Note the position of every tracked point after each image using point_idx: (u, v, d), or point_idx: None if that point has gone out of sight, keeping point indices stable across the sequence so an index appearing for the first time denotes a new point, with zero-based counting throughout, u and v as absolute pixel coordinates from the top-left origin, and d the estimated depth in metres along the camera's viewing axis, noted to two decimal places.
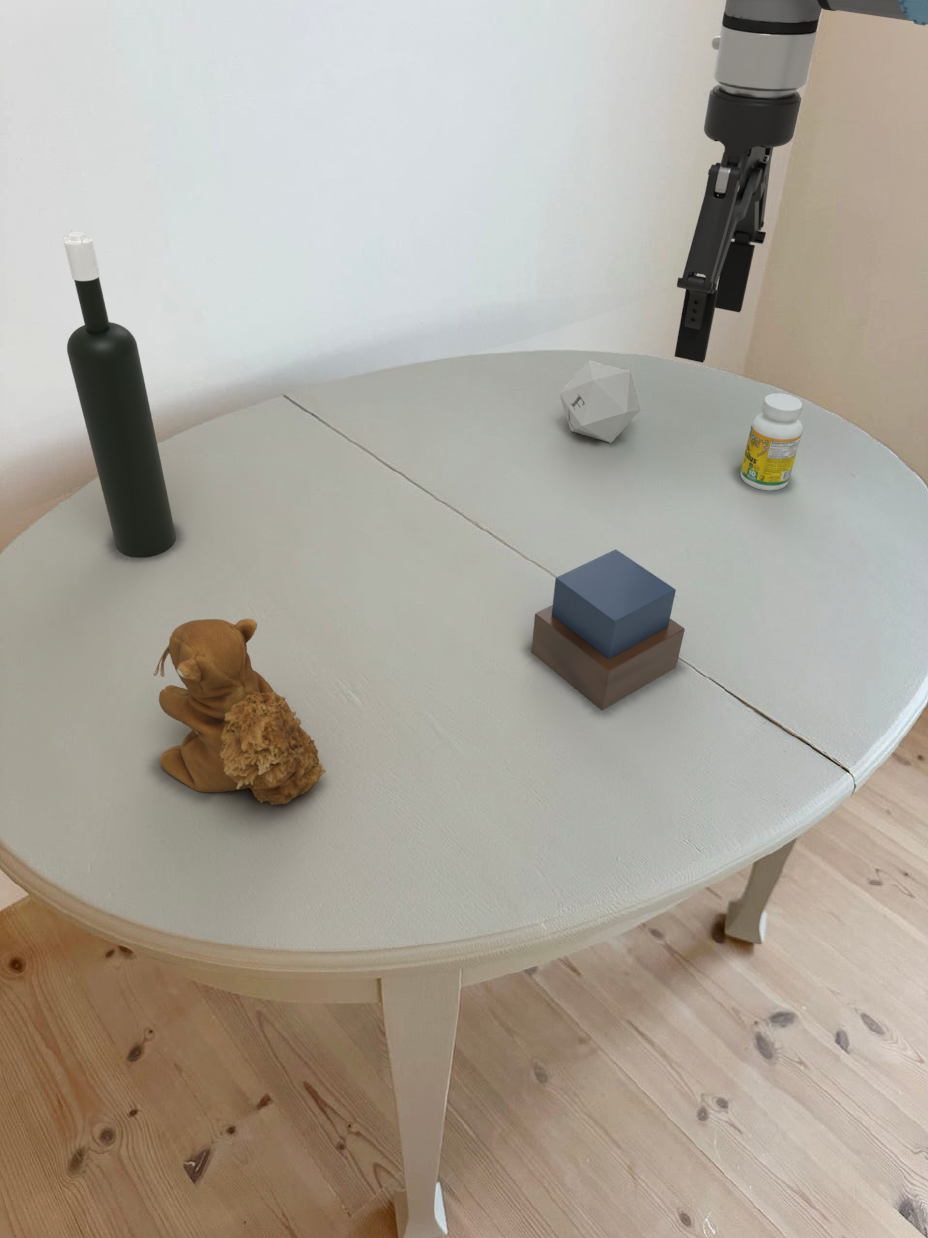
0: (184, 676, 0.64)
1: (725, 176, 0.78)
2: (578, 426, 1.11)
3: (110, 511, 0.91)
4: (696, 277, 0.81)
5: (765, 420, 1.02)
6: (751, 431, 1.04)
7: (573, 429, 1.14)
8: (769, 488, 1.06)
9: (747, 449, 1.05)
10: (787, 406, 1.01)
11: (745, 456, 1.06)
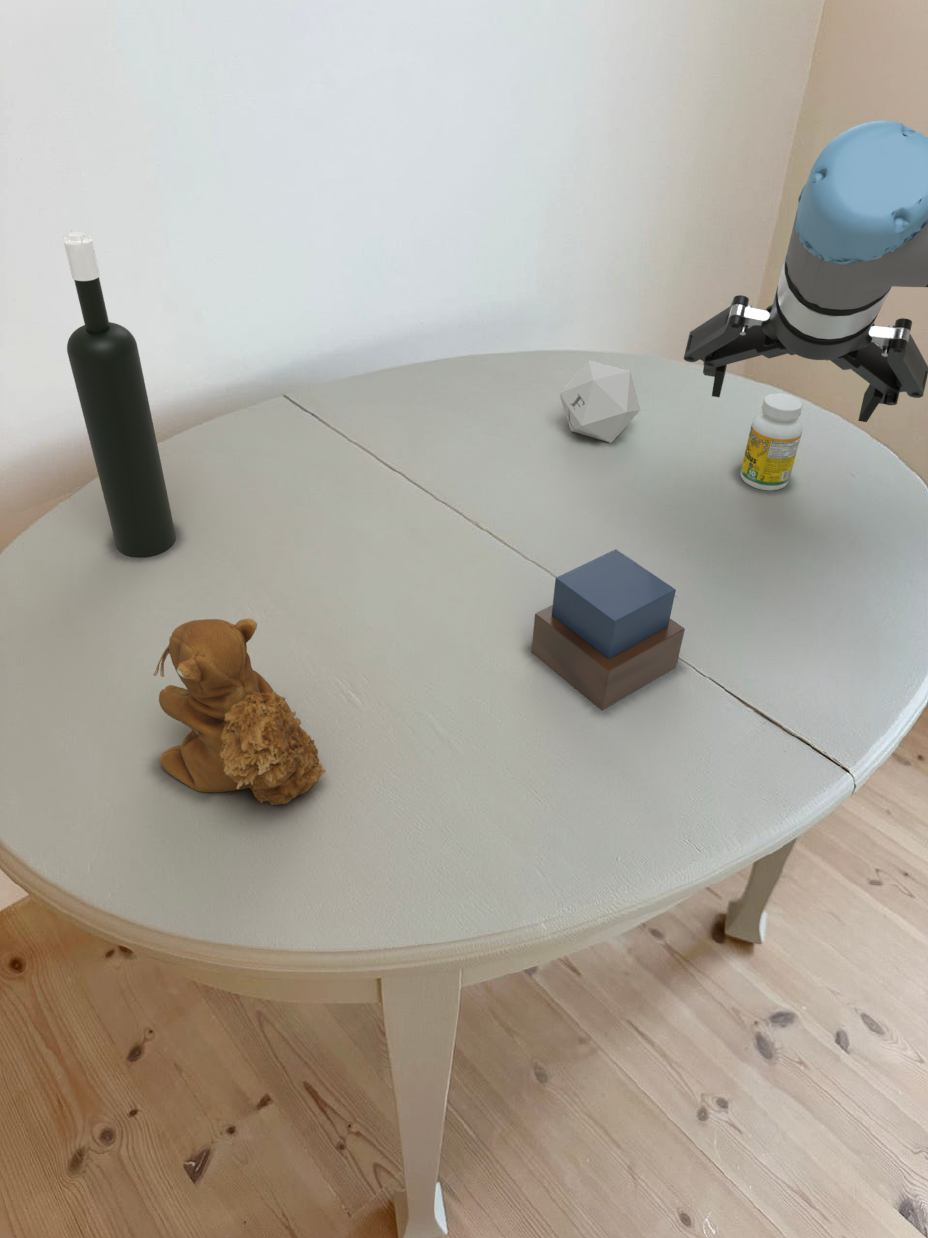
0: (184, 676, 0.64)
1: (729, 314, 0.77)
2: (578, 426, 1.11)
3: (110, 511, 0.91)
4: None
5: (765, 420, 1.02)
6: (751, 431, 1.04)
7: (573, 429, 1.14)
8: (769, 488, 1.06)
9: (747, 449, 1.05)
10: (787, 406, 1.01)
11: (745, 456, 1.06)
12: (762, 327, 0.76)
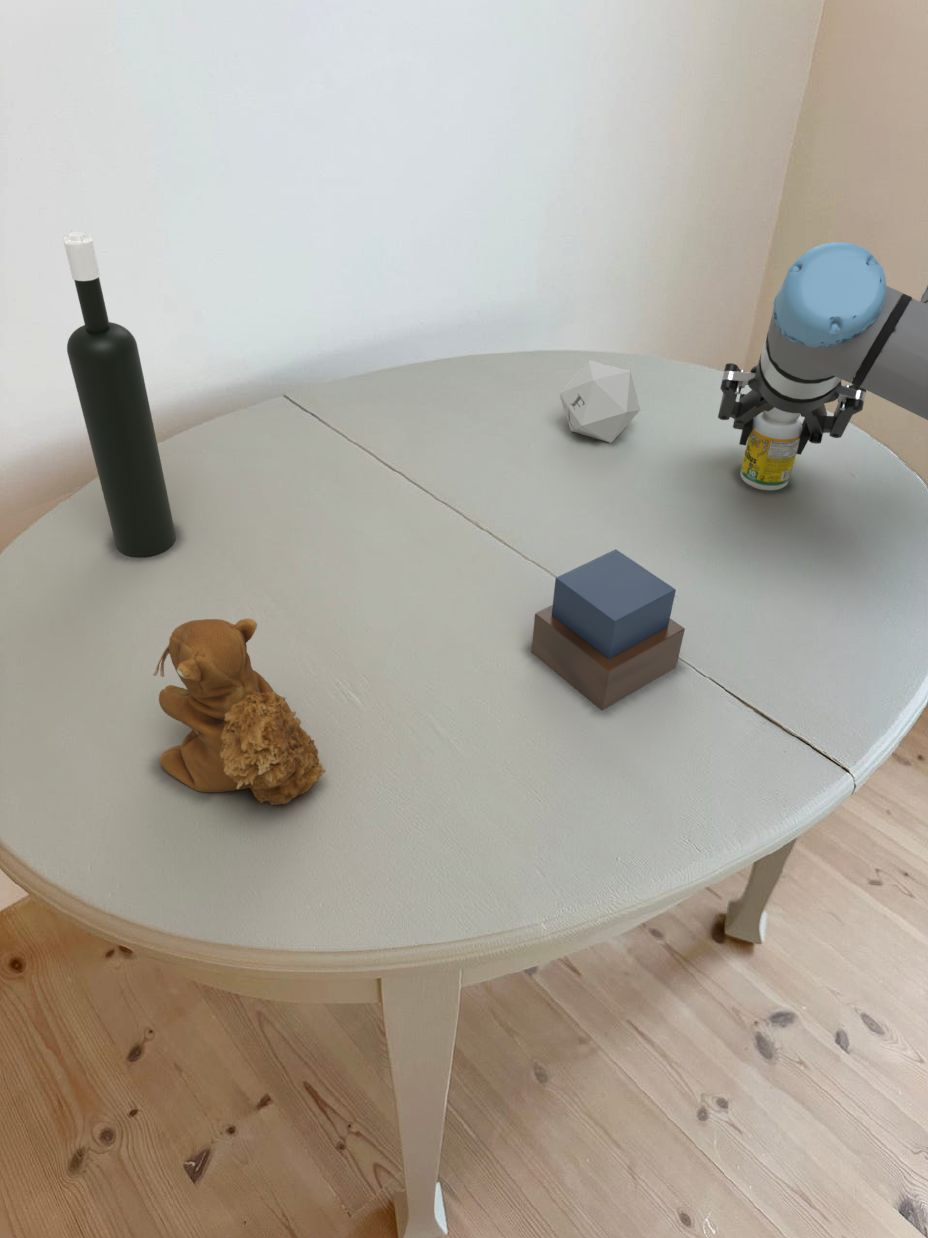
0: (184, 676, 0.64)
1: None
2: (578, 426, 1.11)
3: (110, 511, 0.91)
4: None
5: (765, 420, 1.02)
6: (751, 431, 1.04)
7: (573, 429, 1.14)
8: (769, 488, 1.06)
9: (747, 449, 1.05)
10: None
11: (745, 456, 1.06)
12: (749, 384, 0.92)
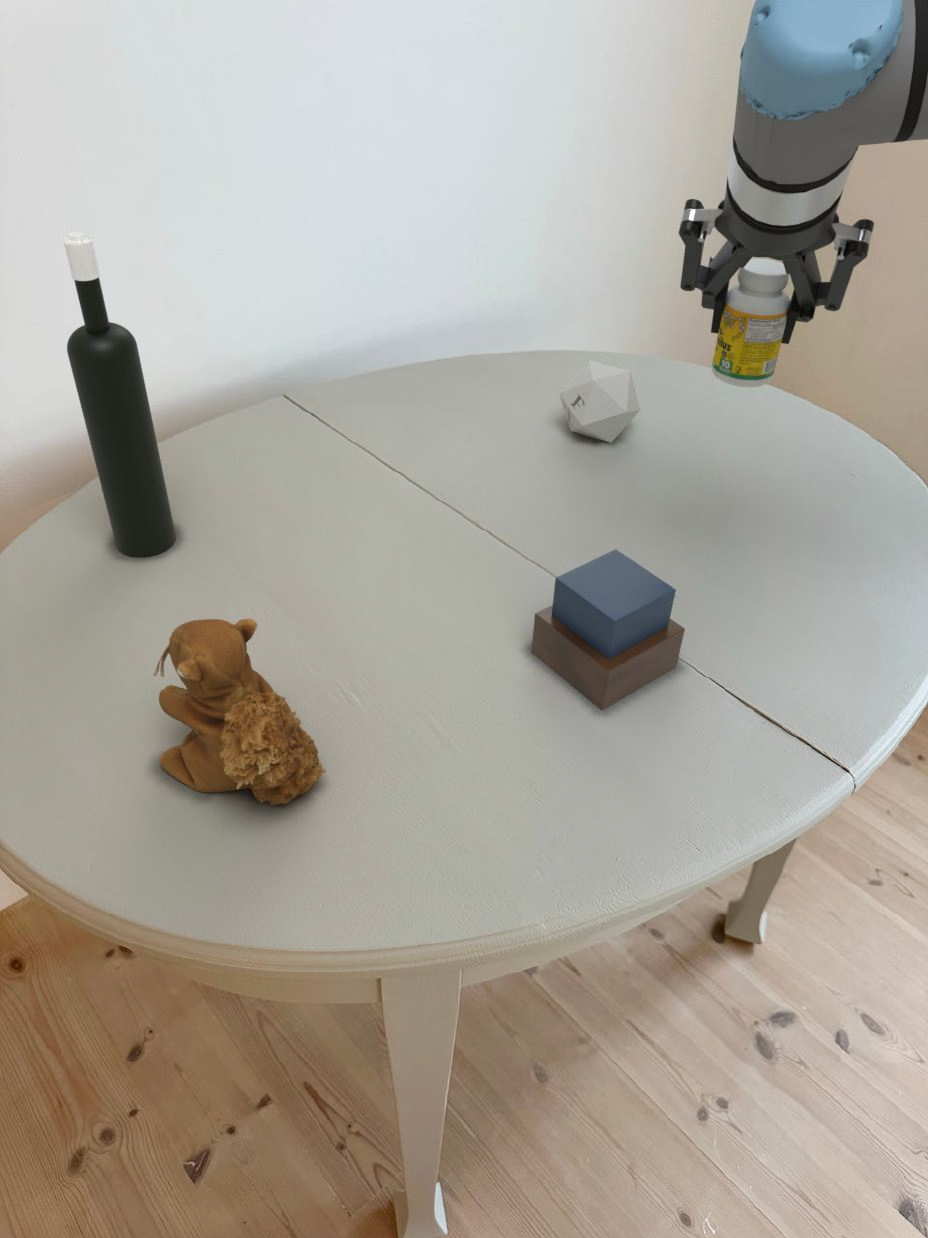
0: (184, 676, 0.64)
1: None
2: (578, 426, 1.11)
3: (110, 511, 0.91)
4: None
5: (742, 292, 0.79)
6: (724, 308, 0.81)
7: (573, 429, 1.14)
8: (747, 384, 0.82)
9: (719, 334, 0.82)
10: (769, 271, 0.78)
11: (717, 343, 0.83)
12: (715, 224, 0.69)
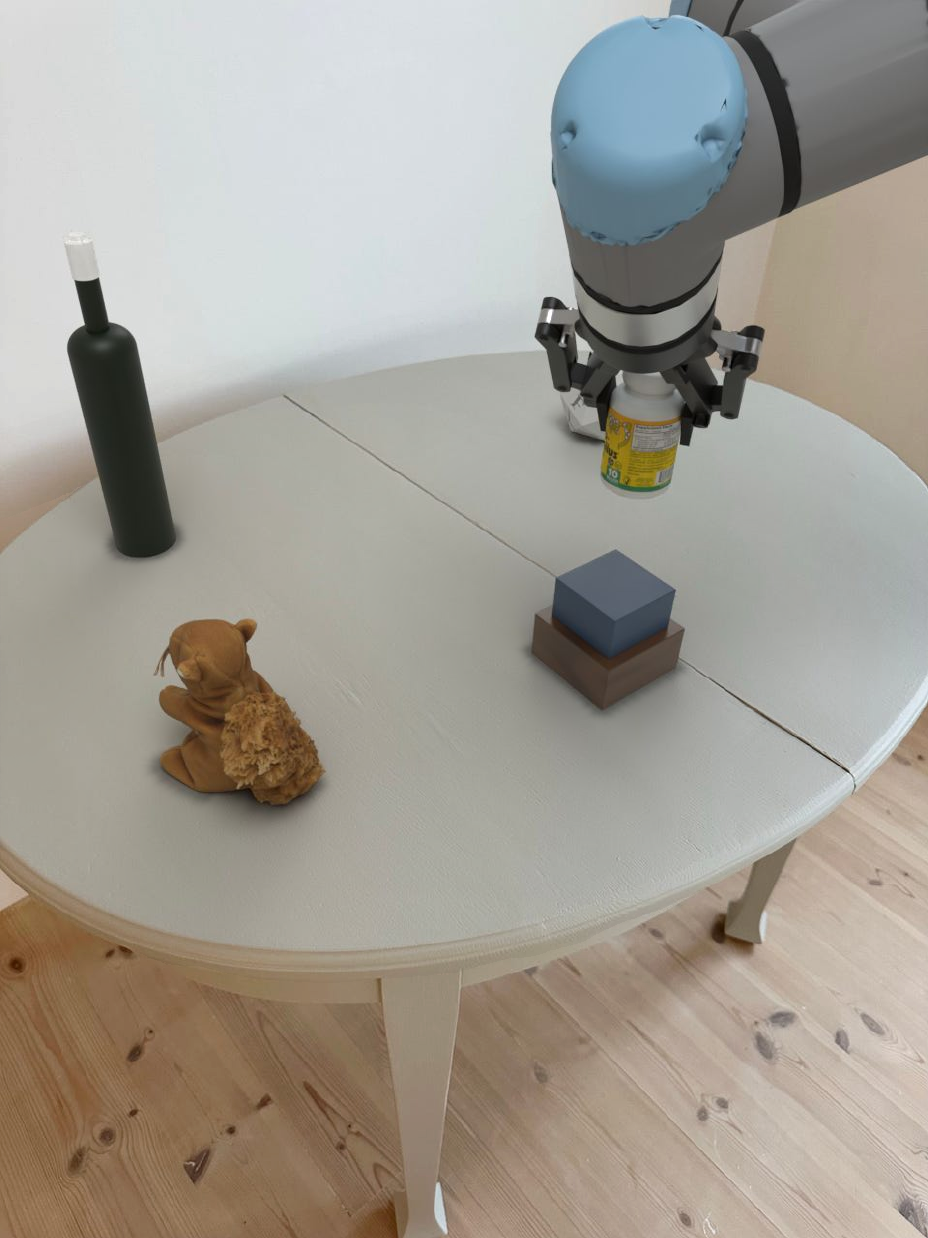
0: (184, 676, 0.64)
1: None
2: (578, 426, 1.11)
3: (110, 511, 0.91)
4: None
5: (627, 393, 0.67)
6: (609, 410, 0.69)
7: (573, 429, 1.14)
8: (639, 496, 0.70)
9: (605, 438, 0.70)
10: None
11: (604, 448, 0.71)
12: (575, 329, 0.57)
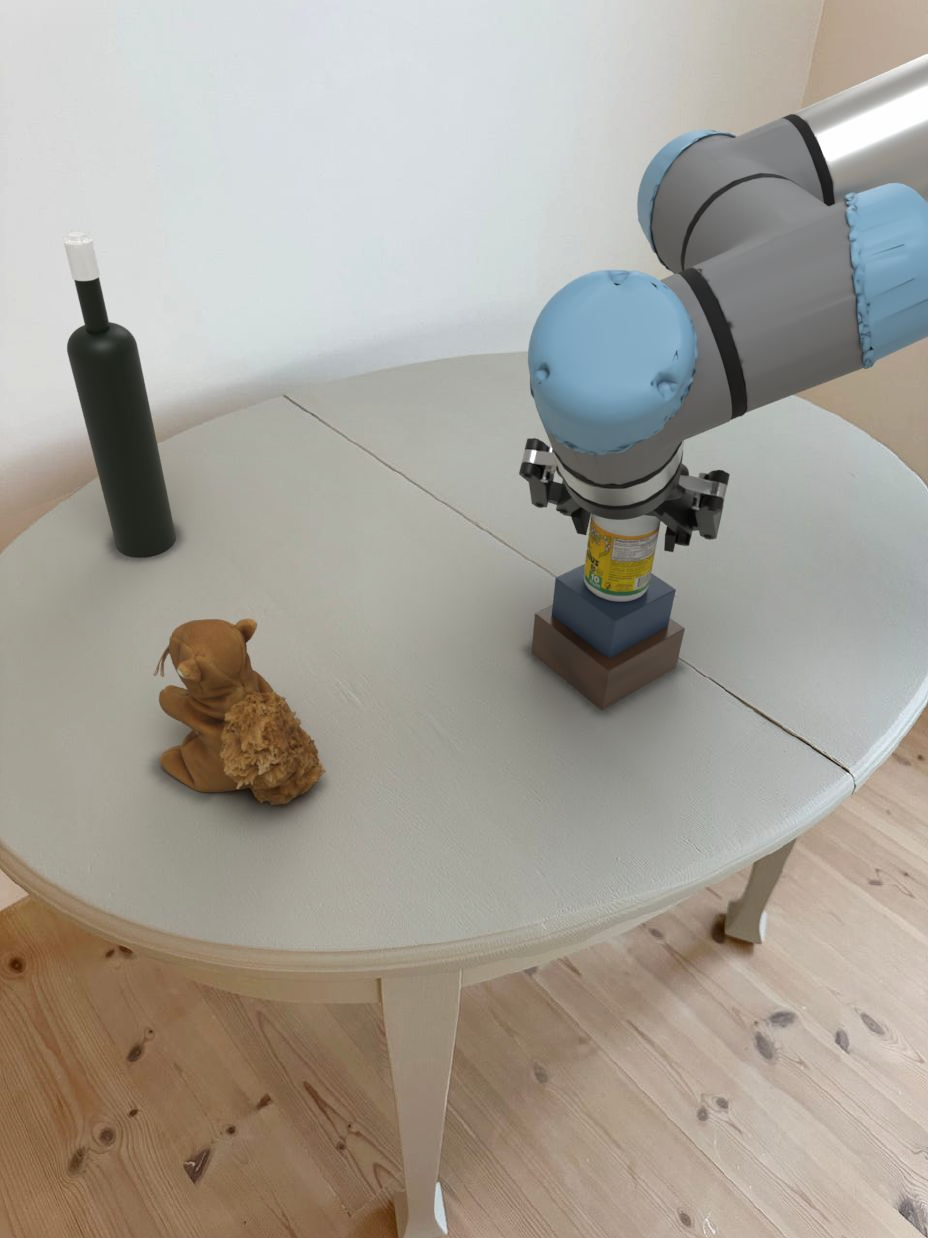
0: (184, 676, 0.64)
1: None
2: None
3: (110, 511, 0.91)
4: None
5: None
6: (591, 522, 0.74)
7: None
8: (619, 599, 0.76)
9: None
10: None
11: (586, 554, 0.76)
12: (557, 471, 0.63)
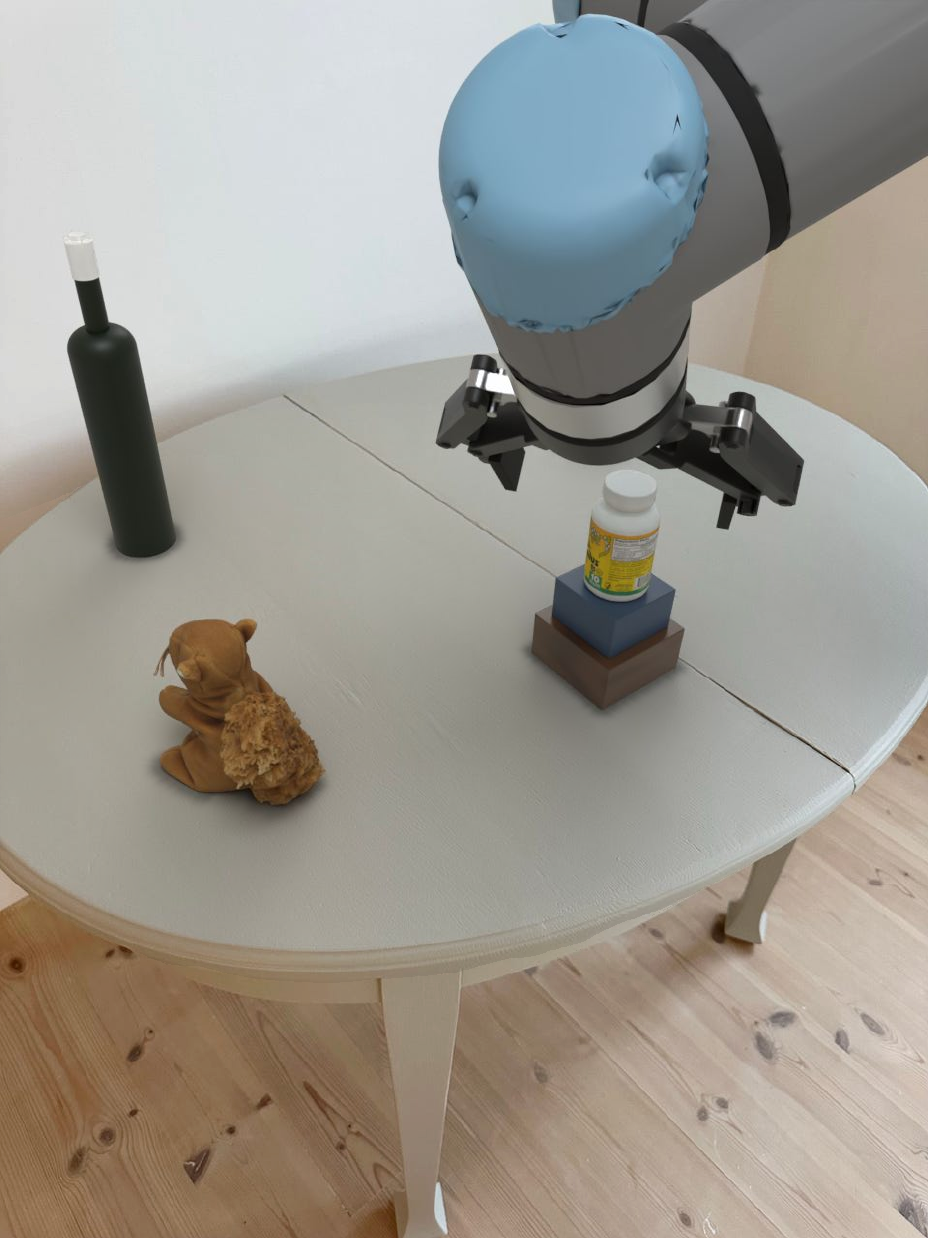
0: (184, 676, 0.64)
1: (466, 384, 0.47)
2: None
3: (110, 511, 0.91)
4: None
5: (607, 509, 0.73)
6: (590, 522, 0.74)
7: None
8: (619, 599, 0.76)
9: (587, 545, 0.76)
10: (634, 490, 0.71)
11: (586, 554, 0.76)
12: (518, 406, 0.47)
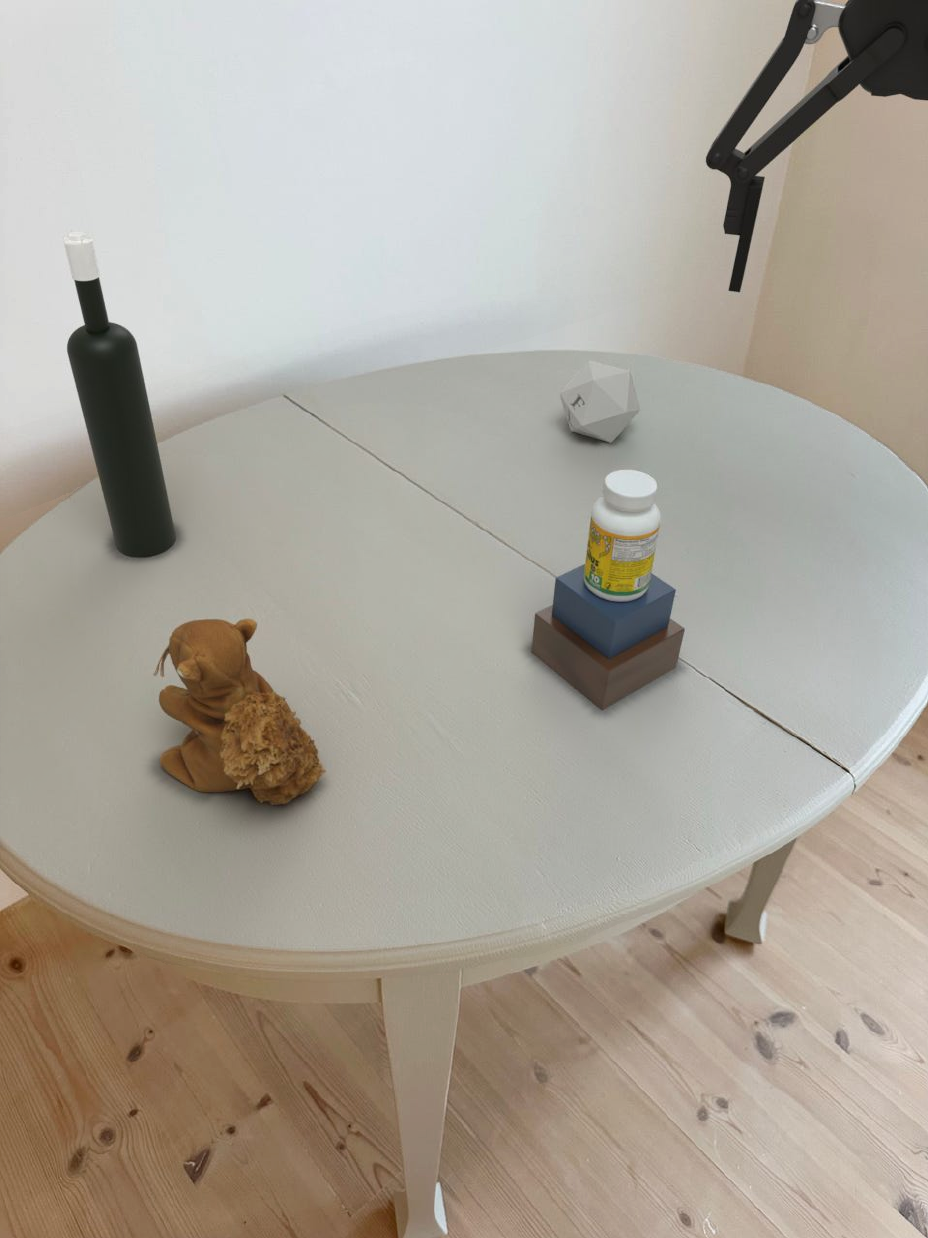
0: (184, 676, 0.64)
1: None
2: (578, 426, 1.11)
3: (110, 511, 0.91)
4: None
5: (607, 508, 0.73)
6: (591, 522, 0.74)
7: (573, 429, 1.14)
8: (619, 599, 0.76)
9: None
10: (634, 491, 0.71)
11: (586, 554, 0.76)
12: (842, 16, 0.53)
